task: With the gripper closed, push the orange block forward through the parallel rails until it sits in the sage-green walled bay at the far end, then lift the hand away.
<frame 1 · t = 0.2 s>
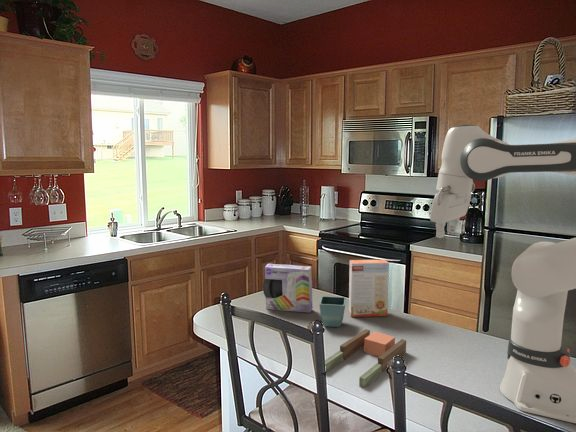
hand: (445, 234, 123), 39 cm above the counter, tool pointing down, fingers open, 8 cm apart
orange block: (379, 351, 139), on the counter
cake pan box: (287, 310, 175), on the counter
parallel rails: (373, 355, 136), on the counter
cracker box: (367, 314, 171), on the counter
flower pot: (332, 325, 160), on the counter
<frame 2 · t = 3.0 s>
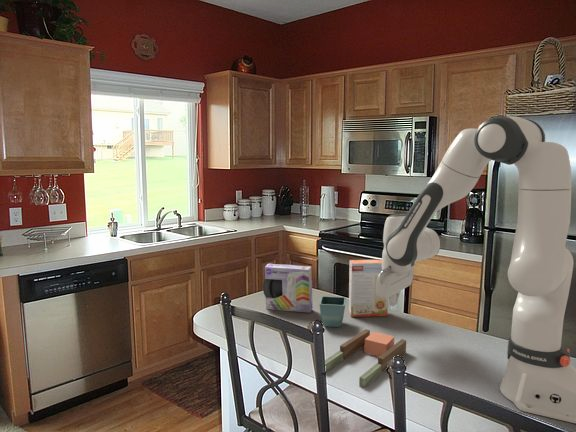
hand: (393, 304, 146), 12 cm above the counter, tool pointing down, fingers closed
nothing on the counter moved.
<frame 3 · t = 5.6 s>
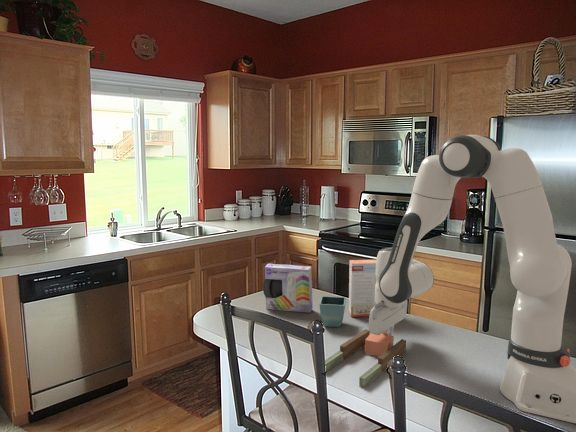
hand: (387, 338, 143), 2 cm above the counter, tool pointing down, fingers closed
orange block: (379, 351, 139), on the counter, touching gripper
everything else where it was.
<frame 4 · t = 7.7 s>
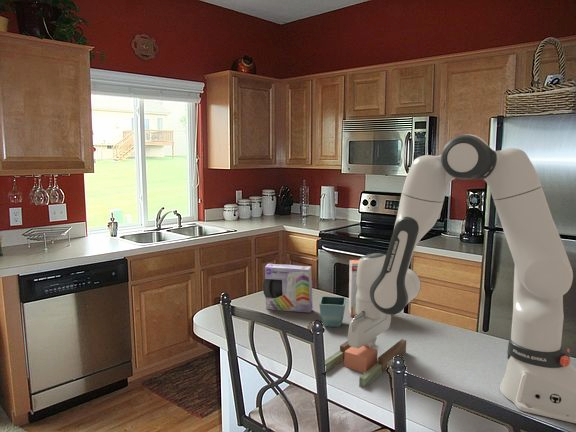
hand: (369, 351, 134), 2 cm above the counter, tool pointing down, fingers closed
orange block: (360, 365, 130), on the counter, touching gripper
everything else where it was.
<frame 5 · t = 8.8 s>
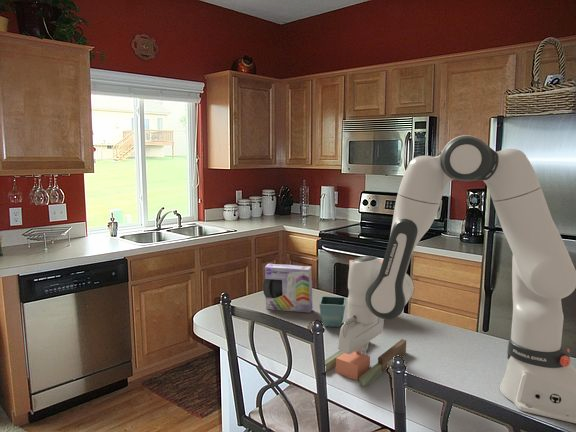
hand: (360, 357, 130), 2 cm above the counter, tool pointing down, fingers closed
orange block: (352, 372, 126), on the counter
everything else where it was.
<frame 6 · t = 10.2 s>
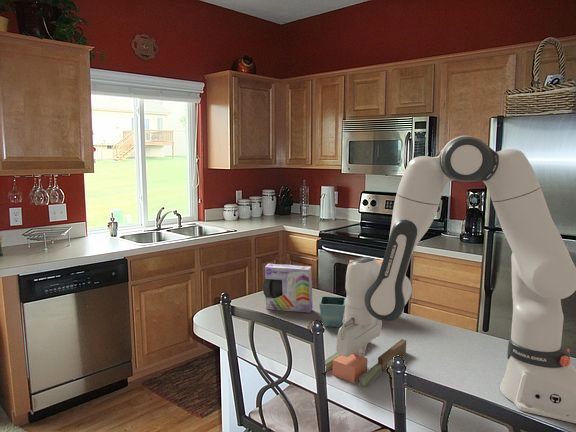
hand: (359, 359, 129), 2 cm above the counter, tool pointing down, fingers closed
orange block: (349, 374, 125), on the counter
everything else where it was.
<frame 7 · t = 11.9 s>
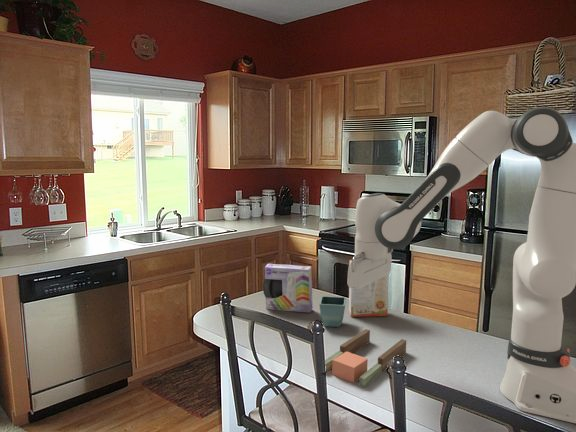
hand: (369, 296, 130), 20 cm above the counter, tool pointing down, fingers closed
nothing on the counter moved.
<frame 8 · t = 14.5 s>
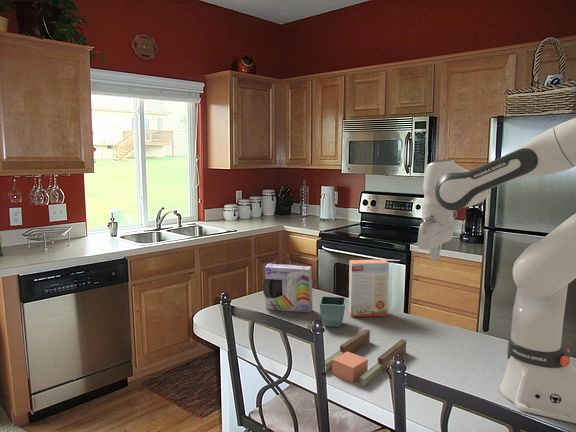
hand: (434, 259, 136), 29 cm above the counter, tool pointing down, fingers closed
nothing on the counter moved.
at the end: orange block inside the target area (0.2 cm from its centre), on the counter; orange block tilted 0°; orange block moved 18.3 cm from its start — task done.
